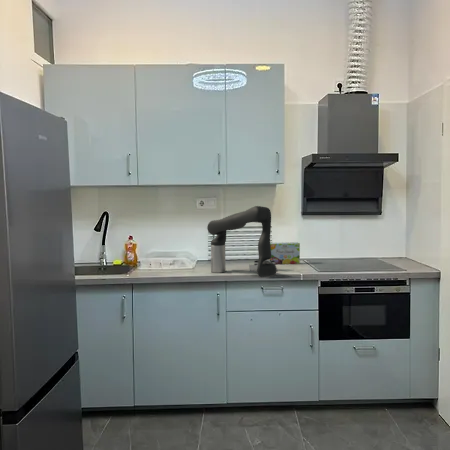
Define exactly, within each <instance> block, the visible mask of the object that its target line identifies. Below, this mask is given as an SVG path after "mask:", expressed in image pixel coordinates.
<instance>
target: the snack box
mask: <svg viewBox="0 0 450 450" xmlns="http://www.w3.org/2000/svg"><path fill="white" fill-rule="evenodd" d="M300 244H301V243H300V242H298V241H297V242H296V241H294V242H286V241H285V242H270V245H271V255H272V257H271V258H270V259H269V260H273V261H275V265H300V264H301V263H300V262H301V261H300V260H301V259H300V258H301V257H300V253H301V246H300Z"/></svg>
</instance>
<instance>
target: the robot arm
mask: <svg viewBox="0 0 450 450" xmlns="http://www.w3.org/2000/svg"><path fill="white" fill-rule="evenodd" d="M249 223H260V224H261V228H262V230H261V234H260V237H259V240H258V242H257V254H258V260H257V259H256V260H254V261H253V262H254V264H253V265H258V267H257V272H256V273H257V275H258V277H260V278H266V277H267V278H268V277H273V276H275V275H277V272H276V268H277V266H275V265H276V264H275V261H273V260H269V259H270V258H271V257H272V255H271V245H270V243H271V228H272V227H271V226H272V211H271V209H270V208H269V207H266V206H261V205H260V206H259V205H255V206H254V205H253V206H252V207H251V208H248V209H246V210H243V211H239V212H237V213H234V214H231V215H227V216H225V217H223V218H220V219H213V220H210V221H209V222H208V224H207V227H206V229H207V231H208V233H209V234H210V235H214V236H215V235H216V236H215V238H213V239H212V240H211V241H210V273H214V274H215V273H225V272H226V271H227V270H226V265H227V264H226V243H227V242H226V241H227V231H235V230H239V229H242V228H244V227H245V226H246V225H247V224H249Z"/></svg>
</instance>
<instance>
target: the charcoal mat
mask: <svg viewBox="0 0 450 450" xmlns="http://www.w3.org/2000/svg"><path fill="white" fill-rule="evenodd" d="M276 265H277V264H275V266H276ZM248 267H249V268H248V271H249V273H257V267H258V265H254V264H249V265H248ZM278 272H279V270H278V268H277V266H276V273H278Z"/></svg>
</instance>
